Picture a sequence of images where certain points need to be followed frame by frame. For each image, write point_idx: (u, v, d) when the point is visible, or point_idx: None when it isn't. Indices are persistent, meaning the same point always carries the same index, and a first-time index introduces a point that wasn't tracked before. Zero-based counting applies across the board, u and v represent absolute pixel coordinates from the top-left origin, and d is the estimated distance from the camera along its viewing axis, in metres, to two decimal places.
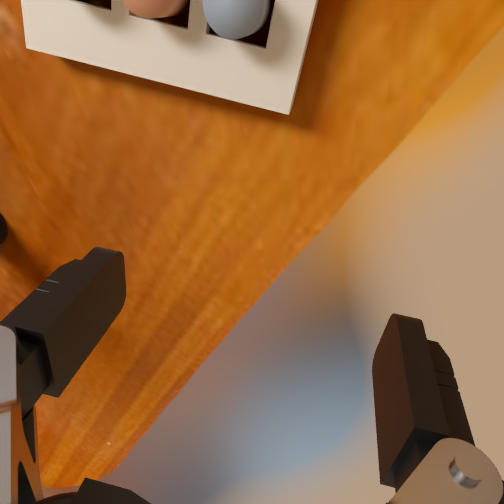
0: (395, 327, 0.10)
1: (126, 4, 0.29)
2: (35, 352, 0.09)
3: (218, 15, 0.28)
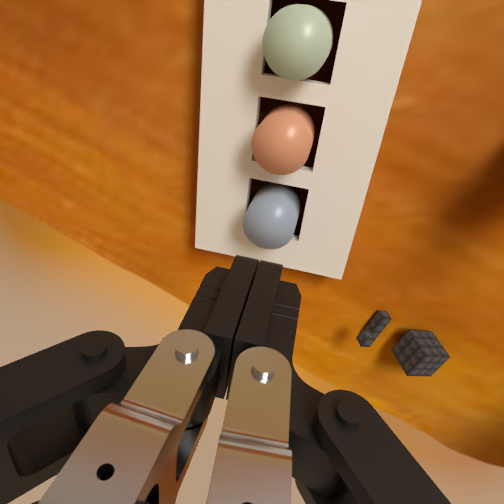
0: (257, 270, 0.12)
1: (261, 124, 0.28)
2: (220, 356, 0.09)
3: (259, 215, 0.31)
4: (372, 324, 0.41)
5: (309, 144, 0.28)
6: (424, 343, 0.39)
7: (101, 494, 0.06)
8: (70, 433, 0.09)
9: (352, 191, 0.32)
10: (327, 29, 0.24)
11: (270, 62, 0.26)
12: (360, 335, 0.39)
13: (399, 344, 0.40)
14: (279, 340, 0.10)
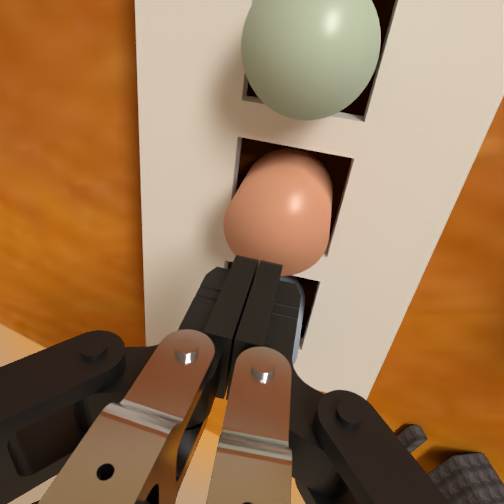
0: (257, 270, 0.12)
1: (241, 195, 0.15)
2: (220, 356, 0.09)
3: None
4: None
5: (328, 231, 0.15)
6: (476, 478, 0.27)
7: (101, 494, 0.06)
8: (69, 433, 0.09)
9: (391, 288, 0.20)
10: (376, 20, 0.11)
11: (257, 84, 0.13)
12: None
13: (438, 473, 0.28)
14: (279, 340, 0.10)
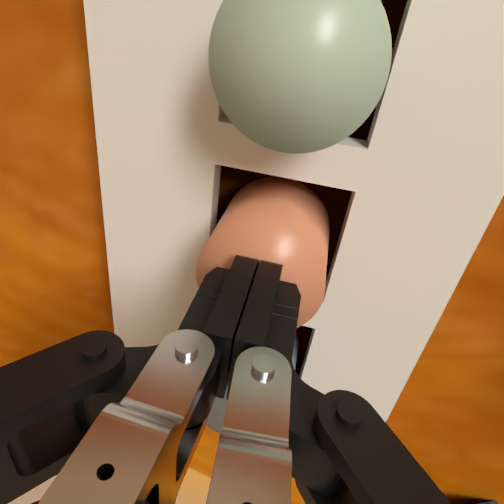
0: (257, 270, 0.12)
1: (216, 241, 0.12)
2: (220, 356, 0.09)
3: None
4: None
5: (323, 284, 0.12)
6: None
7: (101, 494, 0.06)
8: (69, 433, 0.09)
9: (399, 338, 0.17)
10: (385, 27, 0.08)
11: (230, 108, 0.10)
12: None
13: None
14: (279, 340, 0.10)
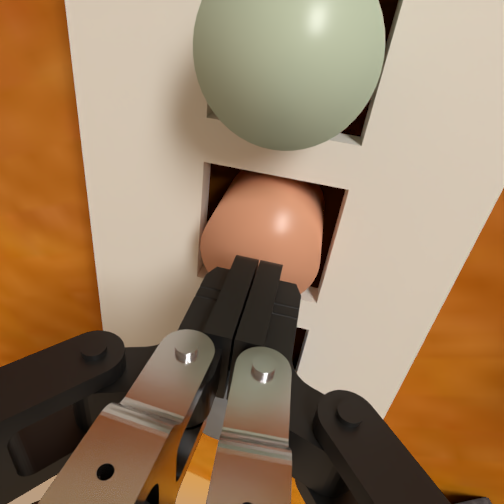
0: (257, 270, 0.12)
1: (219, 215, 0.13)
2: (220, 356, 0.09)
3: None
4: None
5: (318, 255, 0.13)
6: None
7: (101, 494, 0.06)
8: (70, 433, 0.09)
9: (394, 339, 0.16)
10: (378, 16, 0.08)
11: (217, 103, 0.10)
12: None
13: None
14: (279, 340, 0.10)
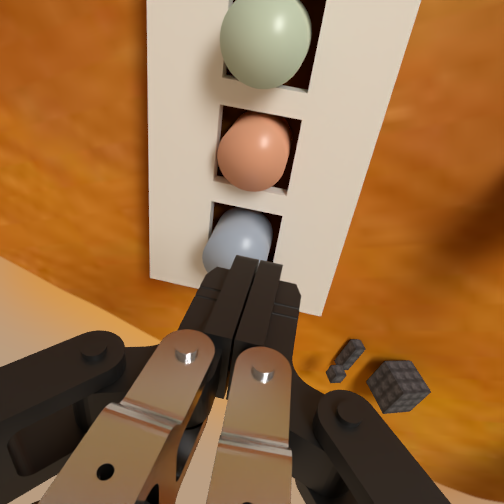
0: (257, 270, 0.12)
1: (229, 133, 0.23)
2: (220, 356, 0.09)
3: (222, 249, 0.26)
4: (344, 354, 0.36)
5: (285, 157, 0.24)
6: (402, 376, 0.34)
7: (101, 494, 0.06)
8: (69, 433, 0.09)
9: (334, 219, 0.27)
10: (303, 24, 0.18)
11: (230, 65, 0.20)
12: (330, 370, 0.34)
13: (375, 377, 0.36)
14: (279, 340, 0.10)
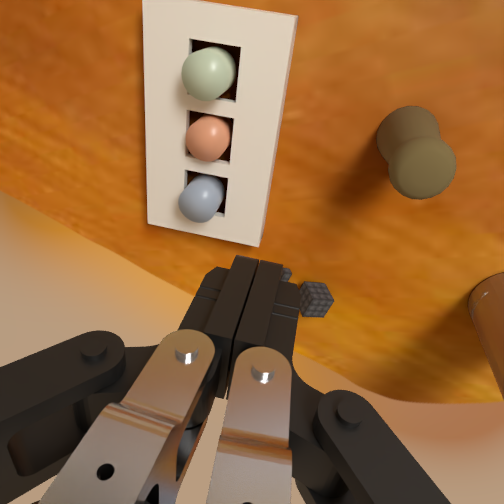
0: (257, 270, 0.12)
1: (191, 126, 0.40)
2: (220, 356, 0.09)
3: (189, 197, 0.43)
4: None
5: (224, 140, 0.40)
6: (315, 290, 0.51)
7: (101, 494, 0.06)
8: (69, 433, 0.09)
9: (259, 179, 0.43)
10: (223, 67, 0.35)
11: (187, 88, 0.37)
12: None
13: None
14: (279, 340, 0.10)
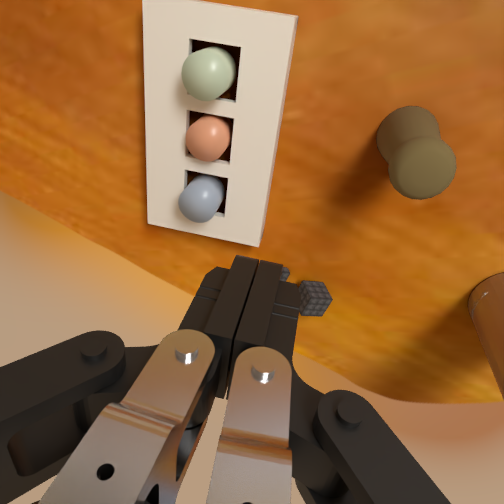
0: (257, 270, 0.12)
1: (191, 126, 0.40)
2: (220, 356, 0.09)
3: (189, 197, 0.43)
4: None
5: (224, 140, 0.40)
6: (313, 289, 0.50)
7: (101, 494, 0.06)
8: (69, 433, 0.09)
9: (259, 179, 0.43)
10: (223, 67, 0.35)
11: (187, 88, 0.37)
12: None
13: None
14: (279, 340, 0.10)
